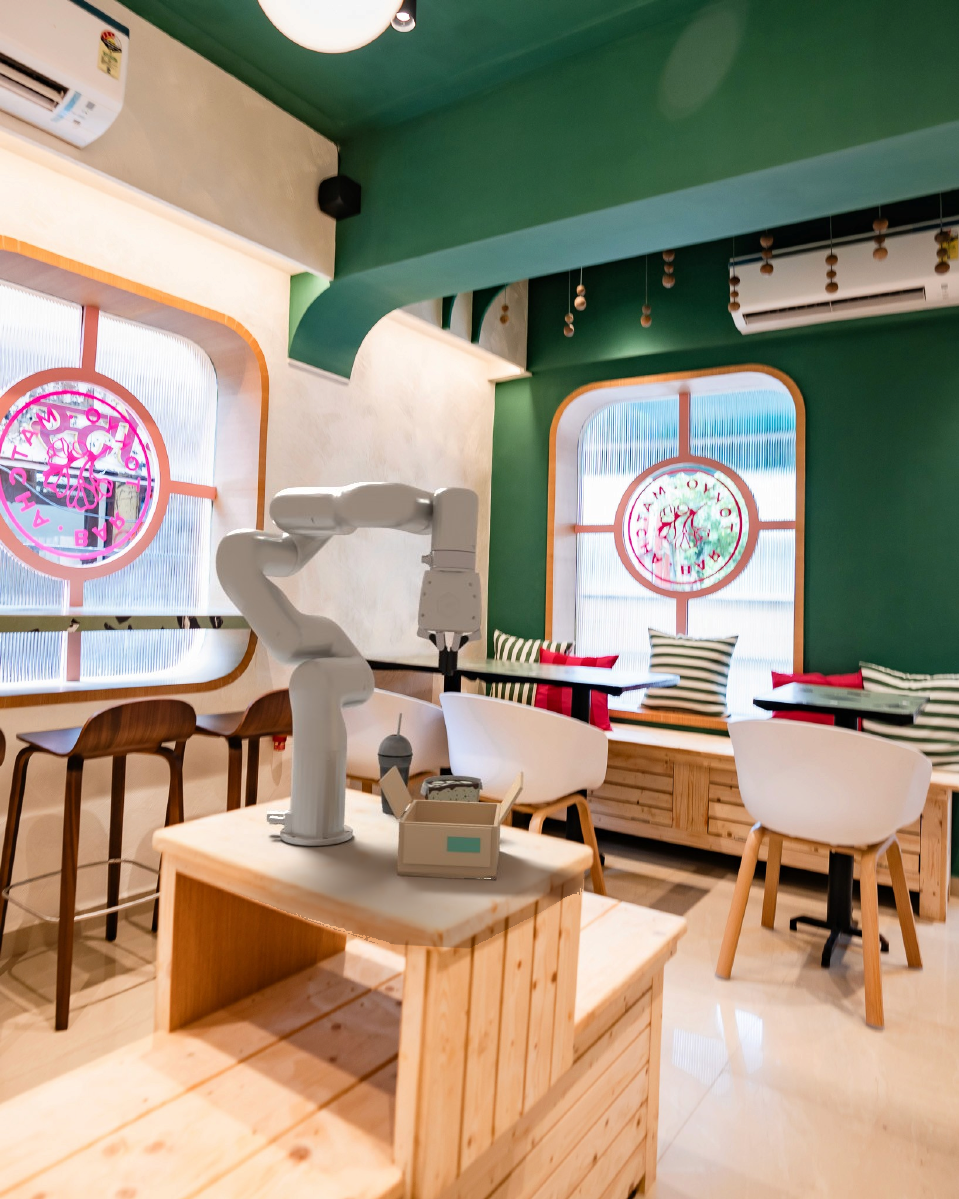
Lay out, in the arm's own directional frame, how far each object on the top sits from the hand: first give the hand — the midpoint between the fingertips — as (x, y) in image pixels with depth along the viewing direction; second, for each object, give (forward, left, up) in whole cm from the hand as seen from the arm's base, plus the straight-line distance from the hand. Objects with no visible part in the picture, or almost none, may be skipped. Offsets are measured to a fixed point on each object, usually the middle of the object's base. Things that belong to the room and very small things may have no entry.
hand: (447, 674), depth 131 cm
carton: (+2, -1, -30) cm, 30 cm away
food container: (-1, +17, -30) cm, 35 cm away
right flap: (+11, -1, -19) cm, 22 cm away
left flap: (-7, -1, -19) cm, 20 cm away
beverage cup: (-13, +32, -30) cm, 46 cm away
